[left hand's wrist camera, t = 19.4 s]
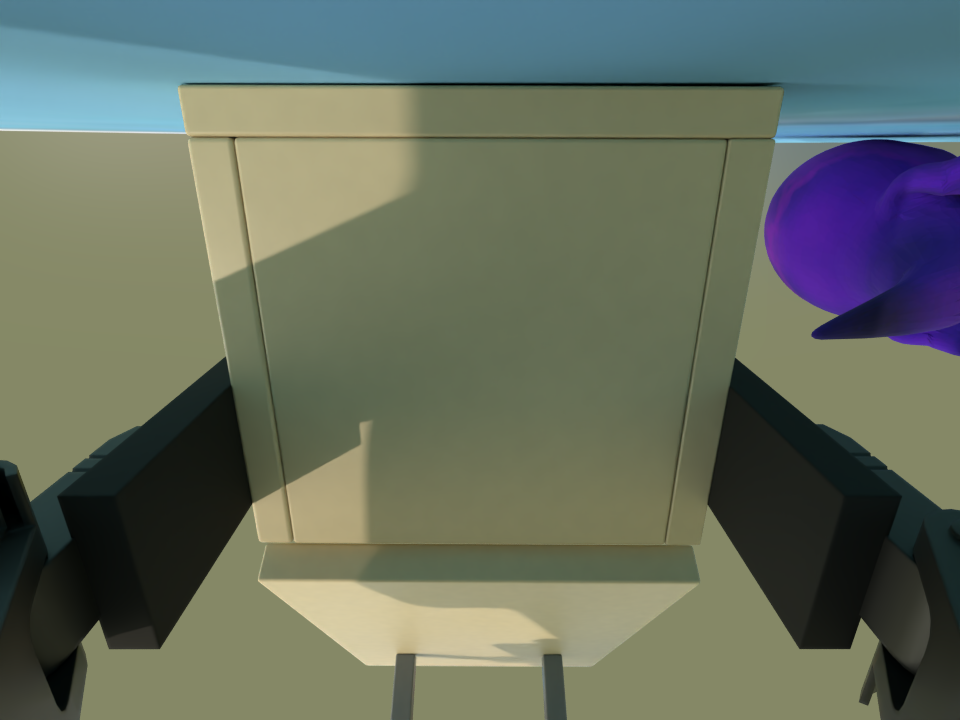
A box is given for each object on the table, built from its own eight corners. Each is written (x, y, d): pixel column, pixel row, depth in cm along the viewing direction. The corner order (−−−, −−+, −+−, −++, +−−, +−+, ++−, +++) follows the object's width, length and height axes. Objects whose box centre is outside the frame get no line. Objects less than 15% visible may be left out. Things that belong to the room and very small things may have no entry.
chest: (606, 123, 21) (588, 343, 24) (355, 122, 21) (371, 342, 24) (787, 86, 8) (700, 546, 12) (174, 83, 8) (258, 544, 12)
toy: (1199, 138, 27) (916, 108, 51) (811, 219, 32) (717, 156, 56) (1129, 401, 34) (906, 265, 58) (814, 435, 39) (728, 297, 63)
